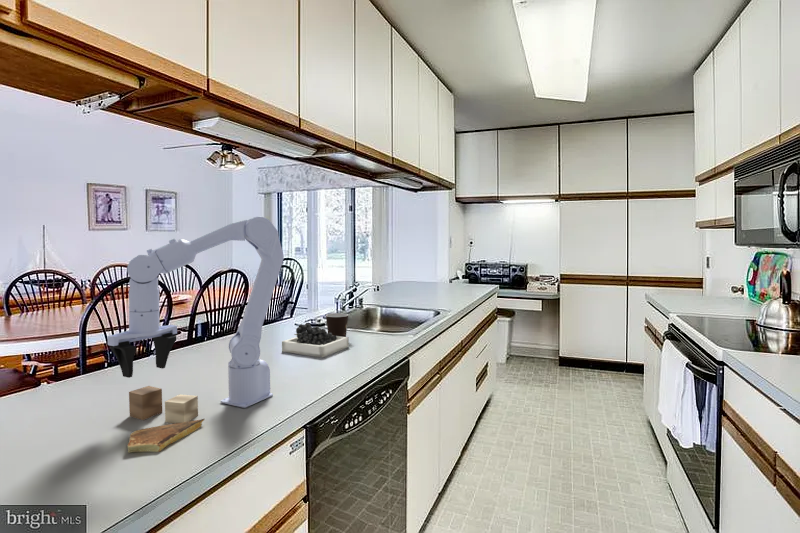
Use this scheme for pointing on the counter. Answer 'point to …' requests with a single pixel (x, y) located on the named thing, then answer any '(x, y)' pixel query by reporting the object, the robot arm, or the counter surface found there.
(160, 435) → the shard
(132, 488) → the counter surface
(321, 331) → the fruit
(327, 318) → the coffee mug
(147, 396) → the walnut block
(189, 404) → the maple block
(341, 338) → the fruit dish
